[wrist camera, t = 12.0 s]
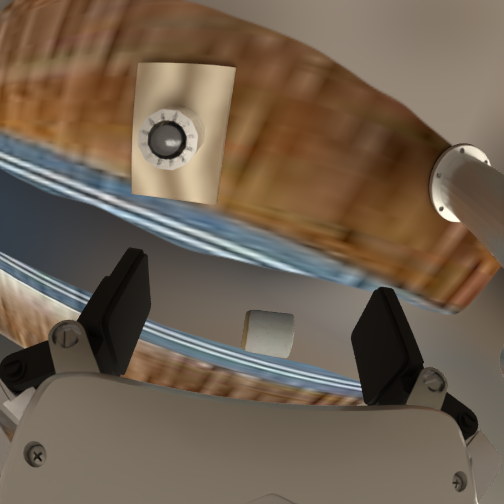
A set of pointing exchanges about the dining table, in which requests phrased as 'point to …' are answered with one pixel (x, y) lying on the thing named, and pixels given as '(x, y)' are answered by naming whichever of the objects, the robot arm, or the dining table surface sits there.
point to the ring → (191, 127)
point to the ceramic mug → (268, 333)
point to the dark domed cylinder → (168, 138)
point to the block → (162, 96)
